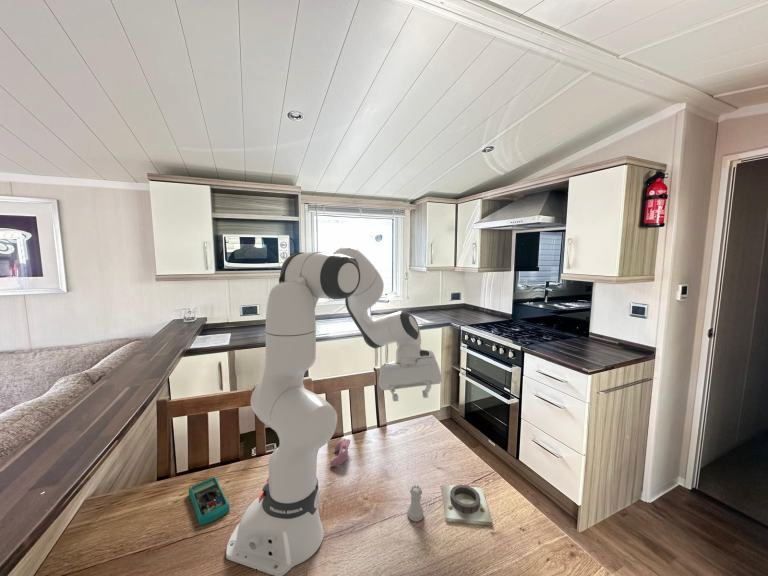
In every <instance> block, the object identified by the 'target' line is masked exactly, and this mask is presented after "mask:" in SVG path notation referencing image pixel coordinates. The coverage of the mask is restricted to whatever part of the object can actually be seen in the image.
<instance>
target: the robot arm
mask: <svg viewBox="0 0 768 576" xmlns="http://www.w3.org/2000/svg"><path fill="white" fill-rule="evenodd" d="M383 292H384V280H383V278H382V276H381V274H380V272H379V271H378V270H377V268H376V267H375V266H374V265H373V263H372V262H371V261H370V260H369V259H368V258H367V256H365V255H364V254H363V253H362V252H361V251H360V250H358V249H357V248H356V247H353V246H350V245H347V246H342V247H339V248H338V249H336V250H335V251H334V252H333V253H327V252H323V251H321V252H320V251H311V252H297V253H294V254H291V255H289V256H288V257H286V259H285V260H284V261H283V263H282V265H281V268H280V276H279V277H278V284H276V285H275V286H273V287H272V289H270V291H269V294H268V299H267V306H266V311H265V313H266V314H265V363H264V371H263V374H262V378H261V381H260V382H259V383H258V384H257V385H256V386H255V388H254V390H253V391H252V393H251V396H250V406H251V409H252V410H253V412H254V415H256V416H257V417H256V418H258V419H259V421H261V422H262V423H263V424H264V425H266V426H268V427H269V428H270V429H272V430H273V431H274V432H275V433H276V435H277V437H278V440H279V445H278V447H277V448H275V450H274V451H272V453H271V455H270V456H269V459H268V464H267V466H268V477H267V479H266V482H267V483H266V484H265V485H264V486H263V487H262V490H261V493H260V494H259V496H258V497H257V498H256V499H254V500H253V501H252V503H250V505H249V506H248V508H247V509H246V510H245V511H244V513H243V515H242V517H241V519H240V522H238V524H237V525H236V526H235V528H234V530H233V532H231V535H230V538H229V539H228V542H227V545H226V552H225V557H226V559H227V560H229V561H231V562H234V563H237V564H240V565H243V566H245V567H248V568H251V569H254V570H256V569H257V571H259V572H263V573H266V574H268V575H270V576H271V575H272V576H273V575H274V576H284V575H285V574H288V572H289V571H290V570H291V569H292V568H294V567H295V566H297V565H299V564H301V563H303V562H305V561H308V560H309V559H310V558H311V557H312V556H313V555H314V554H315V553H316V552H317V550H318V549H319V548H320V546H321V545H322V543H323V539H324V536H325V535H324V530H325V529H324V527H323V524H322V521H321V517H320V512H319V500H320V493H319V492H320V490H319V481H318V477H317V467H318V466H317V463H318V461H317V460H318V458H317V457H318V453H319V452H318V451H319V449H320V448H322V447H324V446H325V445H326V444H328V443H329V441H330V440H331V439H332V437H333V436H334V433H335V432H336V429H337V427H338V426H337V425H338V414H337V411H336V410H335V407H333V406H332V405H331V404H330V403H329V402H328V401H327V400H326V399H325V398H324V397H322V396H321V395H319V394H316V393H315V392H313V391H310V390H309V389H306V387H305V386H304V377H305V374H306V371H308V370H309V369H311V368H312V367H313V366H314V365H315V362H316V359H317V357H316V355H317V353H316V352H317V351H316V350H317V349H316V346H317V343H316V342H317V340H316V336H317V334H316V332H317V330H316V322H317V320H316V306H317V304H318V301H319V299H332V300H344V299H345V300H344V301H345V307H346V310H347V312H348V314H349V316H350V317H351V319H352V320H353V323H354V324H355V325H356V327H357V329H358V330H359V331H360V333H361V335H362V337H363V340H364V343H365V344H366V345H368V346H369V347H370V348H372V349H379V348H381V347H382V348H383V347H385V346H386V345H390V344H394V343H396V347H397V348H396V353H395V355H396V356H395V357H396V358H395V359H396V360H395V361H392V362H389V363H388V362H386V363H383V364H382V365H381V366H380V367H379V377H378V386H379V388H380V389H381V390H382V391H389V392H390V393H391V395H392V401H393V402H399V395H398V393H396V390H399V389H408V388H414V387H415V388H416V387H425V386H426V387H425V389H423V390H422V397H423V399H427V398H429V393H430V391H431V389H432V385H440V384H441V383H442V381H443V377H442V373H441V369H440V366H439V364H438V361H437V360H436V355H435V354H434V352H433V351H432V350H429V349H428V350H427V349H422V348H421V345H422V336H421V335H422V334H421V330H420V326H419V323H418V321H417V320H416V318H415V316H414V315H412V314H411V313H410V312H408V311H406V310H399V311H395V312H391V313H390V314H387V315H384V316H381V317H376V318H371V317H370V316H369V315H368V313H367V312H368V311H367V310H369V308H371V307H374V305H376V304H377V303H378V302H379V301H380V299H381V298H382V295H383Z"/></svg>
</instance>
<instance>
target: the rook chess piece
mask: <svg viewBox="0 0 768 576" xmlns="http://www.w3.org/2000/svg"><path fill="white" fill-rule="evenodd" d="M421 488H422V487H420V485H418V484H417V485H416V484H415V485H414V484H413V485H412V486H411V488H410V490H409V493H410V498H411V500H410V504H409V505H408V507H407V512H406V514H407V517H408V518H409V520H410V521H412V522H416V523H417V522H420V521H421V520H422V519H423V518H424V508H423V506H422V505H421V499H422V494H423V491H422V489H421Z"/></svg>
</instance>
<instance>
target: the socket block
mask: <svg viewBox="0 0 768 576" xmlns="http://www.w3.org/2000/svg"><path fill="white" fill-rule="evenodd" d="M440 488H441V494H442V496H441V497H442V503H443V511H444V518H445V522H449V523H460V524H470V525H484V526H492V525H493V520H492V517H491V515H490V511H489V508H488V504H487V501H486V498H485V494H484V490H483V488H482V487H475V486H469V485H466V484H458V485H452V484H451V485H450V484H441V487H440Z"/></svg>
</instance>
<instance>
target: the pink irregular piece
mask: <svg viewBox="0 0 768 576" xmlns="http://www.w3.org/2000/svg"><path fill="white" fill-rule="evenodd" d="M350 444H351V439H348V438H343V439H342V440H341V441H339V442H338V443H337V444H335V446H334V451H335V452H339V453H338V455H337V456H335V457H334V458H333V459H332V460H331V461H330V463H329V464H330V467H332V468H334V467H338V466H340V465H341V464H342V463H343V462H345V461H346V459H349V448H350V447H349V446H350Z"/></svg>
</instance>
